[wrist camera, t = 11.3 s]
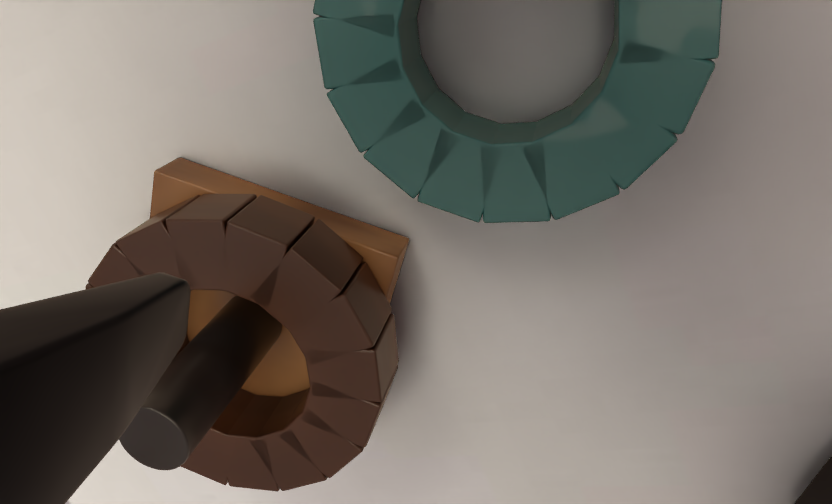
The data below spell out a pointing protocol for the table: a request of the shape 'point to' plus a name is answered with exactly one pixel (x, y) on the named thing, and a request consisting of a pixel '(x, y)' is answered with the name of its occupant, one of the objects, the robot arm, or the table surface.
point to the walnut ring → (295, 309)
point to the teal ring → (515, 142)
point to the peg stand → (234, 329)
